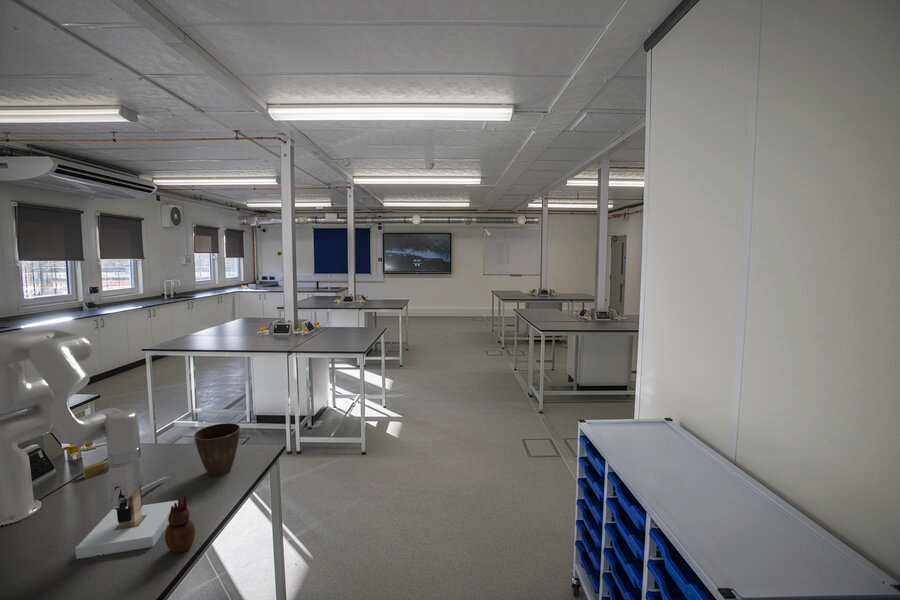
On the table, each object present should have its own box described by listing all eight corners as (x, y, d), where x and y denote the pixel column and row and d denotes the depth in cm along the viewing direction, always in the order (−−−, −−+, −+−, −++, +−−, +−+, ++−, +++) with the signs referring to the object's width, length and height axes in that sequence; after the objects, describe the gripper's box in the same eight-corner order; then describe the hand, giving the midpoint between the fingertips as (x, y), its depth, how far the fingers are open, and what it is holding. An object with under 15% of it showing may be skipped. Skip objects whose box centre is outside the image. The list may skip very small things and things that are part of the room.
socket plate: (76, 559, 110) (75, 548, 110) (112, 518, 127) (112, 509, 127) (153, 546, 114) (152, 536, 114) (178, 509, 132) (177, 500, 132)
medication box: (123, 464, 163) (121, 454, 163) (125, 466, 161) (124, 456, 161) (83, 477, 153) (82, 467, 153) (85, 479, 152) (84, 469, 151)
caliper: (124, 512, 131) (123, 493, 130) (121, 512, 131) (119, 493, 130) (170, 478, 151) (168, 462, 151) (167, 478, 151) (165, 462, 151)
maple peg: (120, 537, 119) (116, 497, 117) (127, 528, 122) (124, 490, 121) (136, 535, 119) (132, 495, 118) (143, 526, 123) (139, 488, 122)
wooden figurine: (200, 541, 116) (196, 490, 115) (187, 555, 111) (183, 502, 109) (175, 542, 116) (171, 491, 115) (162, 556, 110) (157, 503, 109)
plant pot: (237, 458, 166) (235, 419, 164) (246, 472, 154) (244, 431, 153) (194, 470, 157) (191, 429, 155) (200, 486, 145) (197, 443, 144)
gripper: (125, 444, 126) (130, 500, 128) (91, 471, 110) (98, 536, 111) (153, 441, 128) (157, 496, 130) (124, 467, 111) (130, 531, 113)
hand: (130, 514), depth 120 cm, fingers open, 5 cm apart
